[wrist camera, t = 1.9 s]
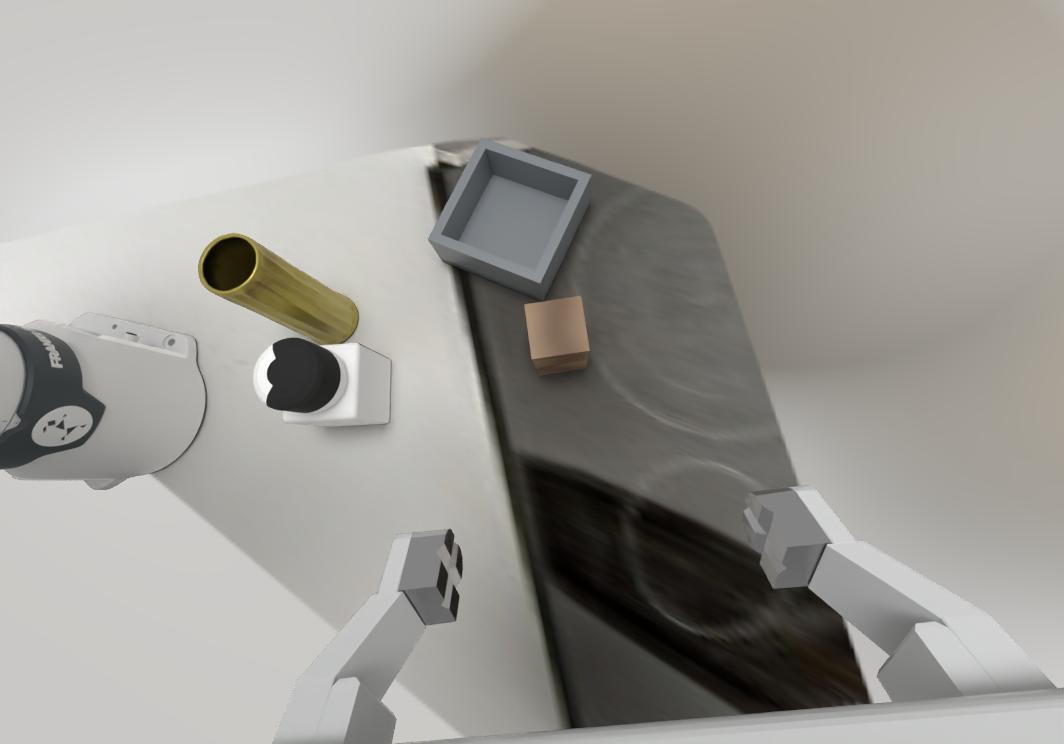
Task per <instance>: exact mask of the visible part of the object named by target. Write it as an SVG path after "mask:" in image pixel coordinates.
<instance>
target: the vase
mask: <svg viewBox="0 0 1064 744" xmlns="http://www.w3.org/2000/svg"><path fill="white" fill-rule="evenodd" d="M198 273H199V278H200V280H201V283H202V284H203V285H204V287H205V288H206V289H208V290H209V291H210V292H212V293H214V294H216V295H218V296H220V297H222V298H224V299H226V300H229V301H231V302H233V303H235V304H238V305H240V306H242V307H245V308H247V309H249V310H251V311H253V312H256V313H258V314H260V315H262V316H264V317H266V318H268V319H270V320H272V321H274V322H276V323H279V324H281V325H283V326H285V327H287V328H289V329H291V330H293V331H295V332H298V333H300V334H303V335H305V336H308V337H310V338H311V339H312V340H314V341H315V342H317V343H319V344H322V345H333V344H339V343H341V342H343V341H345V340H346V339H348V338H349V337H350V336H351V334H352V333H353V332H354V330H355V328H356V325H357V321H358V312H357V309H356V306H355V304H354V303H353V302H352V301H351V300H350V299H349V298H347V297H346V296H344V295H342V294H339V293H337V292H335V291H333V290H331V289H329V288H328V287H326V286H325V285H323V284H322V283H320V282H319V281H317V280H316V279H314V278H312V277H311V276H309V275H307V274H306V273H304V272H303V271H301V270H299V269H298V268H296V267H294V266H292V265H291V264H289V263H288V262H286V261H285V260H284V259H282V258H281V257H279V256H277V255H276V254H274V253H273V252H271V251H270V250H268V249H267V248H265V247H263V246H262V245H260V244H259V243H257V242H255V241H254V240H252V239H251V238H249V237H247V236H244V235H241V234H236V233H232V234H227V235H223V236H220V237H218V238H216V239H215V240H213V241H212V242H211V243H210V244H209V245H208V246H207V247H206V248H205V250H204V251H203V253H202V255H201V257H200V260H199V265H198Z"/></svg>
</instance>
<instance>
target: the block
mask: <svg viewBox="0 0 1064 744" xmlns="http://www.w3.org/2000/svg"><path fill="white" fill-rule="evenodd" d="M525 313H526V320H527V328H528V335H529V343H530V351H531V358H532V361H533V364H534V366H535V368H536V370H537V373H538V375H539V376H541V375H548V374H555V373H562V372H569V371H576V370H583V369H586V367H587V362H588V357H589V352H590V349H589V343H588V336H587V330H586V324H585V318H584V312H583V306H582V300H581V296H576V297H569V298H563V299H557V300H550V301H544V302H538V303H531V304H525Z"/></svg>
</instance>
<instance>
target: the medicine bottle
mask: <svg viewBox="0 0 1064 744" xmlns="http://www.w3.org/2000/svg"><path fill="white" fill-rule="evenodd" d="M390 376H391V360H390V359H389V358H387V357H385V356H383V355H381V354H379V353H377V352H375V351H373V350H371V349H369V348H367V347H365V346H363V345H361V344H359V343H347V344H333V345H319V346H318V345H316V344H313V343H311V342H308V341H306V340H303V339H300V338H287V339H283V340H280V341H278V342H276V343H274V344H272V345H271V346H270V347H269V348H267V349H266V350H265V351H264V352H263V353H262V355H261V356H260V357H259V359H258V361H257V363H256V366H255V369H254V374H253V382H254V388H255V391H256V393H257V396H258V397H259V399H260V400H261V401H262V402H263V403H264V404H265V405H267V406H268V407H270V408H273V409H276V410H282V411H283V413H282V421H283V422H284V423H292V424H303V425H314V426H325V427H333V426H351V425H370V424H386V423H388V422H389V418H390Z"/></svg>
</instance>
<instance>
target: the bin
mask: <svg viewBox="0 0 1064 744" xmlns="http://www.w3.org/2000/svg"><path fill="white" fill-rule="evenodd" d="M591 176H592V175H590V174H587V173H584V172H581V171H578V170H575V169H572V168H570V167H567V166H564V165H561V164H558V163H555V162H552V161H549V160H546V159H543V158H540V157H537V156H534V155H531V154H528V153H525V152H522V151H519V150H516V149H513V148H510V147H507V146H504V145H501V144H498V143H495V142H492V141H489V140H486V139H483V138H481V139H480V141H479V143H478V145H477V147H476V149H475V151H474V153H473V154H472V156H471V158H470V160H469V162H468V164H467V166H466V168H465V170H464V172H463V174H462V175H461V177H460V179H459V181H458V183H457V185H456V187H455V189H454V191H453V193H452V194H451V196H450V198H449V200H448V202H447V204H446V206H445V208H444V210H443V212H442V213H441V215H440V217H439V219H438V221H437V223H436V225H435V227H434V229H433V231H432V232H431V234H430V236H429V238H428V240H429V242H430V243H431V245H432V246H433V248H434V249H435V251H436V252H437V254H438V255H439V256H440V258H441V259H442V261H443V262H445V263H447V264H450V265H452V266H455V267H457V268H460V269H462V270H465V271H467V272H470V273H472V274H475V275H477V276H480V277H482V278H485V279H487V280H490V281H492V282H495V283H497V284H500V285H502V286H505V287H507V288H510V289H512V290H514V291H517V292H519V293H522V294H524V295H527V296H529V297H532V298H534V299H537V300H539V301H542V302H544V300H545V298H546V296H547V294H548V292H549V289H550V287H551V285H552V283H553V281H554V279H555V277H556V274H557V272H558V270H559V268H560V266H561V264H562V262H563V260H564V257H565V255H566V253H567V251H568V249H569V247H570V245H571V242H572V240H573V238H574V236H575V234H576V232H577V230H578V228H579V225H580V223H581V221H582V219H583V217H584V215H585V213H586V210H587V208H588V206H589V201H590V188H591Z"/></svg>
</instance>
